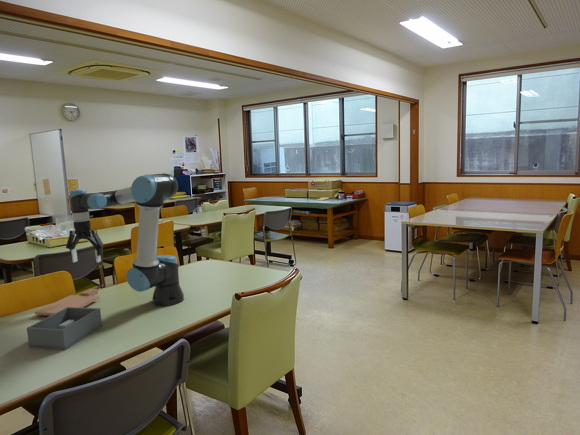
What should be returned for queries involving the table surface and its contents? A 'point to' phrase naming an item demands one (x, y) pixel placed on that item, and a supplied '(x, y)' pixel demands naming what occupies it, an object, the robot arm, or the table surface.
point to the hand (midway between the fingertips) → (86, 261)
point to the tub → (64, 328)
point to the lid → (70, 302)
